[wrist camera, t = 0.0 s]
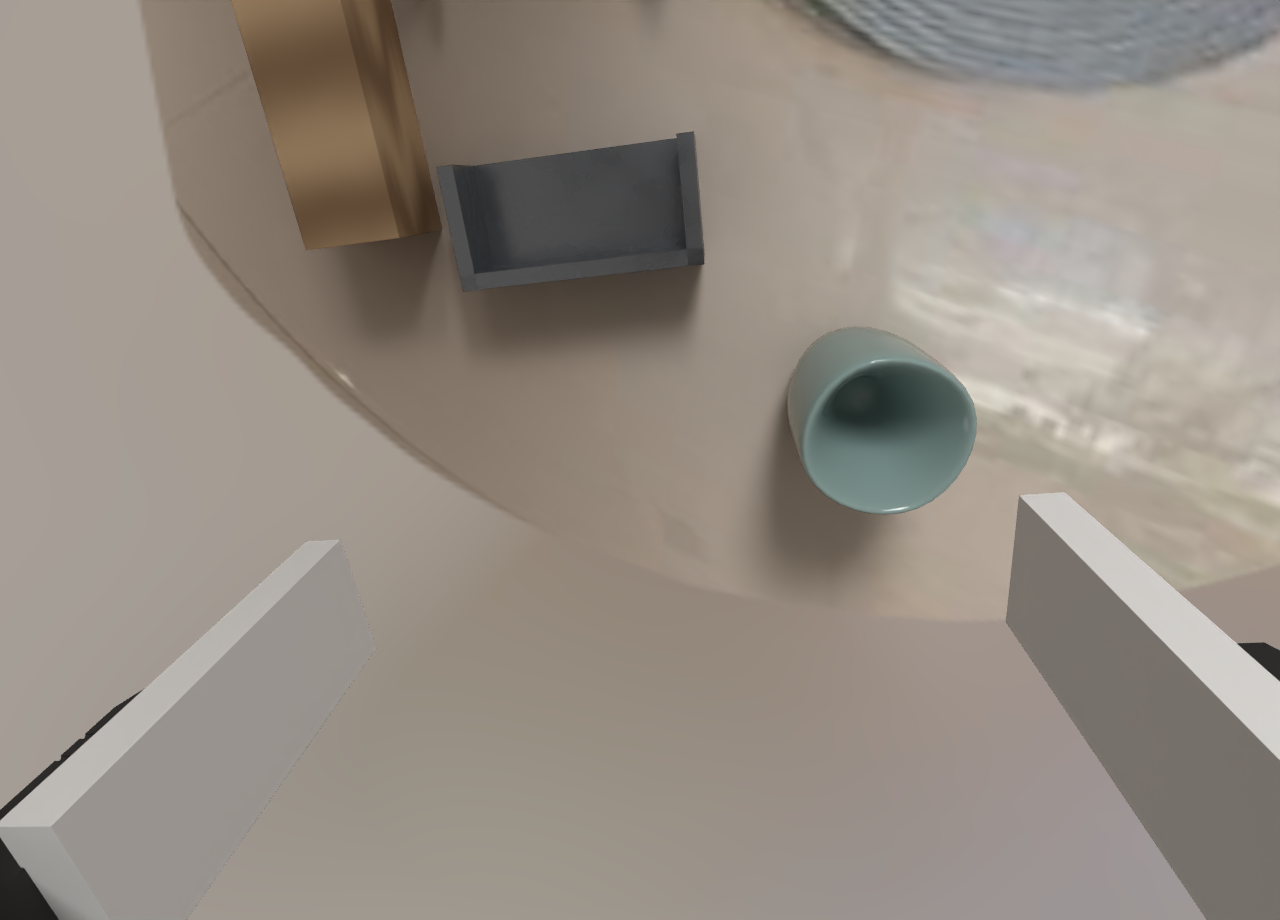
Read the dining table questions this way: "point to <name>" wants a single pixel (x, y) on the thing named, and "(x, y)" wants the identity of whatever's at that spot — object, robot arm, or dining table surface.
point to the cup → (878, 421)
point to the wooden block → (340, 118)
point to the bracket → (575, 214)
